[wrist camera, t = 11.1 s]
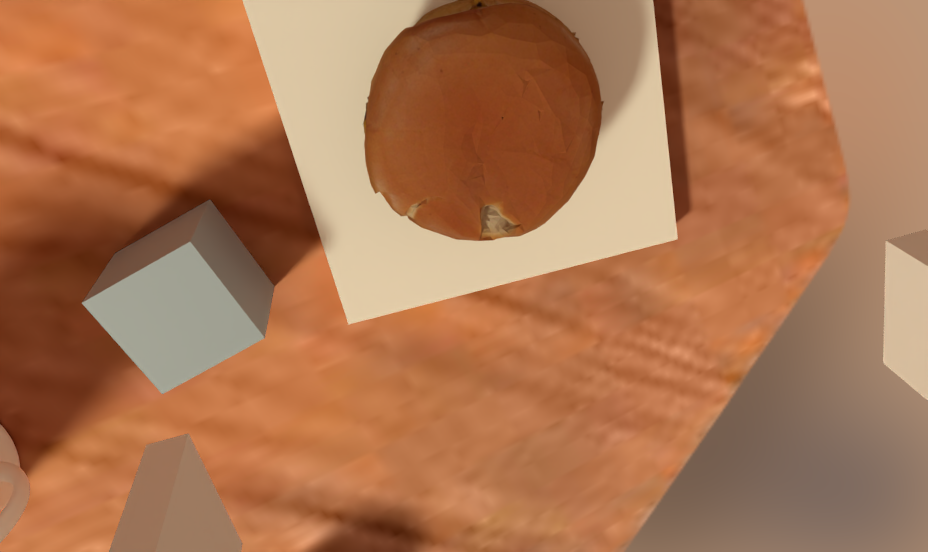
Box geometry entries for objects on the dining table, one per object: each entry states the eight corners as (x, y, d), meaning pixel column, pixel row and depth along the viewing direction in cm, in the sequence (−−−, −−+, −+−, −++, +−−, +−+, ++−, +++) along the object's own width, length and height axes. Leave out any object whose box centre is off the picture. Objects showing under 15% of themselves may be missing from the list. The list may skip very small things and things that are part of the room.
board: (235, -37, 31) (230, -35, 30) (629, -133, 31) (639, -135, 30) (348, 312, 38) (348, 324, 37) (668, 229, 38) (677, 239, 37)
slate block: (115, 252, 35) (81, 302, 30) (210, 198, 35) (190, 241, 30) (184, 335, 37) (162, 394, 33) (274, 285, 37) (264, 338, 32)
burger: (541, -49, 31) (571, -41, 27) (614, 157, 35) (651, 192, 31) (316, 59, 31) (311, 83, 27) (414, 249, 36) (423, 295, 31)
